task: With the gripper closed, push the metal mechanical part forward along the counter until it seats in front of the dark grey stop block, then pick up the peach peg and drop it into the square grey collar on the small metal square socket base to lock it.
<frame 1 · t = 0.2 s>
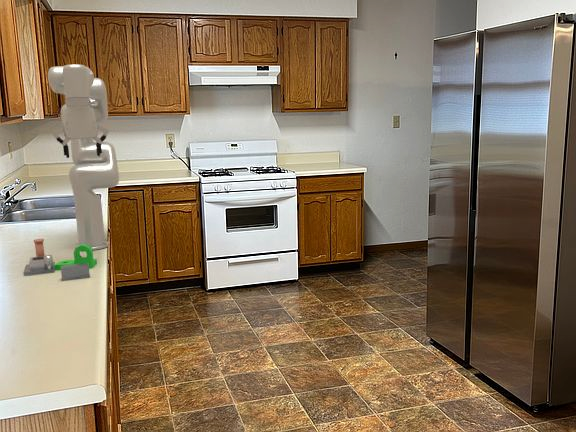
hand: (83, 156, 189), 36 cm above the table, tool pointing down, fingers open, 9 cm apart
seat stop: (76, 277, 177), on the table
metal square socket base: (40, 270, 187), on the table
mechanical part: (76, 268, 190), on the table
peach peg: (41, 264, 194), on the table
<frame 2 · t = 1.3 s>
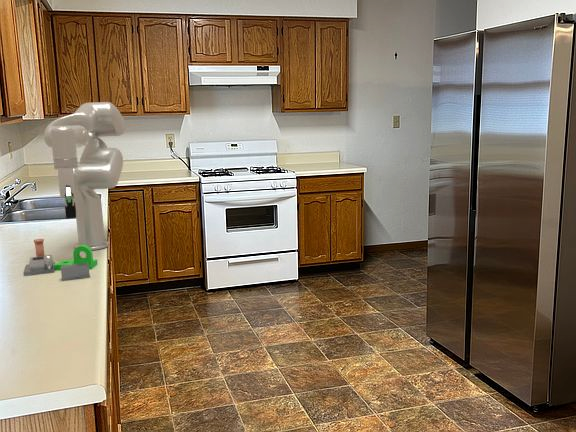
hand: (71, 215, 195), 16 cm above the table, tool pointing down, fingers open, 7 cm apart
nothing on the table moved.
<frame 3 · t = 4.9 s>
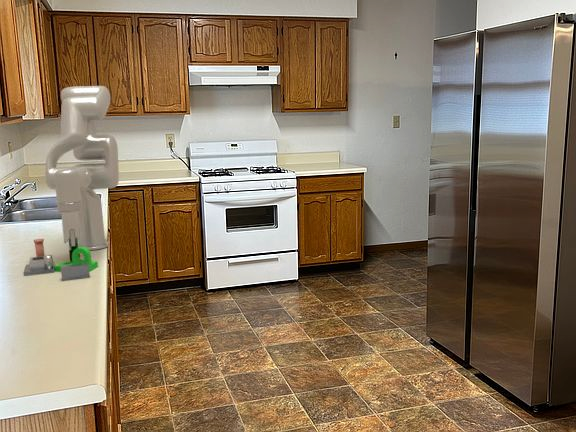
hand: (75, 261, 191), 1 cm above the table, tool pointing down, fingers closed
mechanical part: (76, 270, 187), on the table
everything else where it was.
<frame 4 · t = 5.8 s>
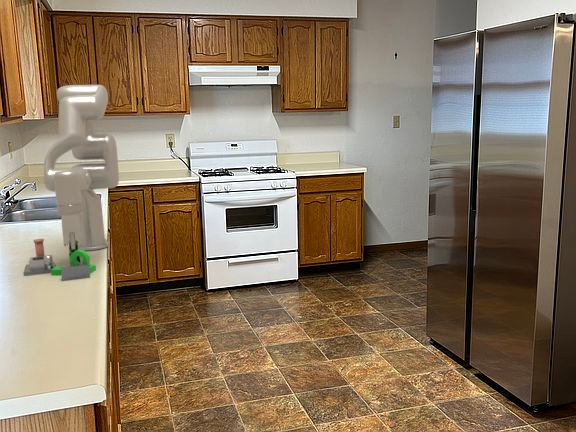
hand: (75, 264, 187), 1 cm above the table, tool pointing down, fingers closed
mechanical part: (74, 273, 183), on the table, touching gripper
everything else where it was.
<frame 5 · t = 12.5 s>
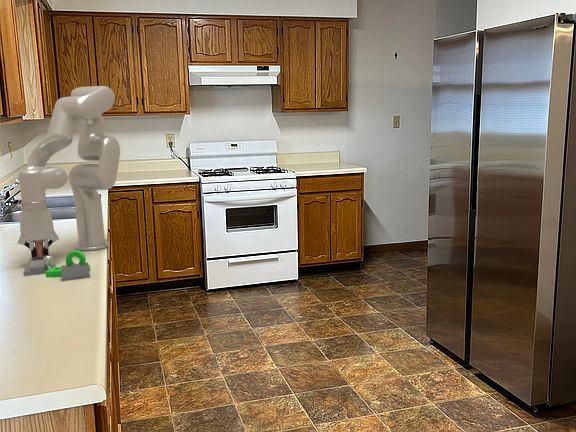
hand: (40, 259, 194), 2 cm above the table, tool pointing down, fingers closed on peach peg, 2 cm apart
mechanical part: (68, 275, 182), on the table
peach peg: (41, 264, 194), on the table, touching gripper
when the fingers open (5 cm above the table, at t = 16.7 s): peach peg stays where it is, resting on metal square socket base.
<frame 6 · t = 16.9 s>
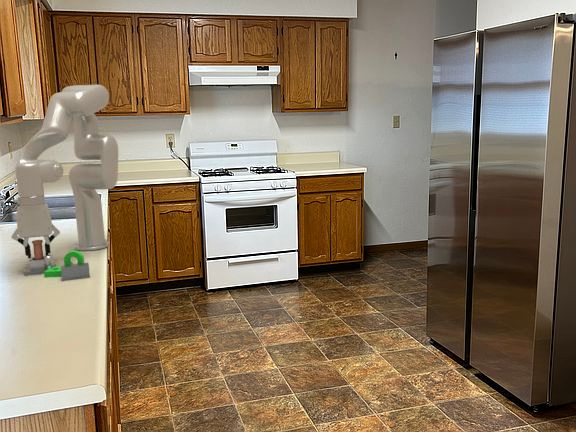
hand: (38, 256, 186), 5 cm above the table, tool pointing down, fingers open, 4 cm apart
peach peg: (39, 266, 187), point 1 cm above the table, touching metal square socket base
everything else where it was.
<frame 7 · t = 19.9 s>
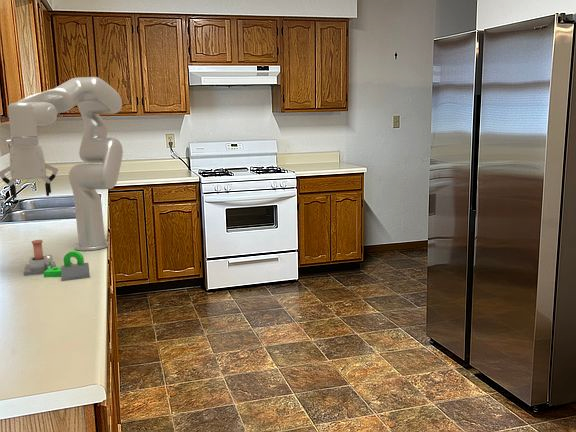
hand: (31, 196, 182), 24 cm above the table, tool pointing down, fingers open, 9 cm apart
nothing on the table moved.
at the end: mechanical part inside the target area (3.0 cm from its centre), on the table; peach peg 0.1 cm off-centre on the metal square socket base, point 1.2 cm above the metal square socket base's base; peach peg tilted 0° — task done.
